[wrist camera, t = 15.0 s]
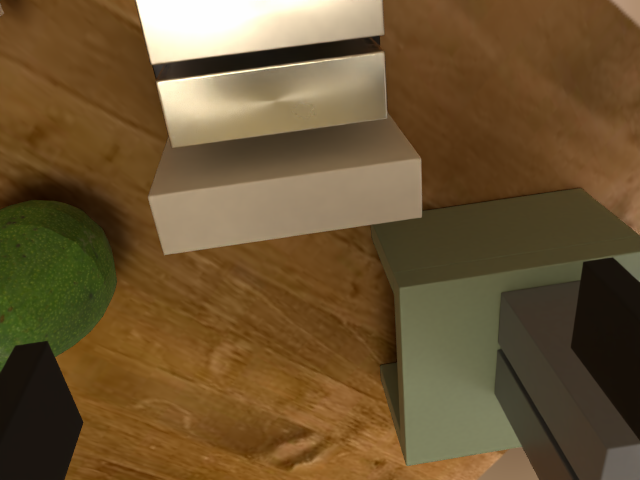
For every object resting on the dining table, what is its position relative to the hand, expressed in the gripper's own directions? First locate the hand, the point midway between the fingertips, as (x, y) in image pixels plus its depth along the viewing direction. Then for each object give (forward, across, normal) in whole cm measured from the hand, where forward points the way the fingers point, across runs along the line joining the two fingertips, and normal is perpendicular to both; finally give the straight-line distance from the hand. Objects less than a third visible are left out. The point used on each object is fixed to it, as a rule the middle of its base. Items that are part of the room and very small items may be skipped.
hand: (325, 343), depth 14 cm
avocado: (+21, -14, -6) cm, 26 cm away
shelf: (+21, +12, -15) cm, 28 cm away
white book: (+20, 0, 0) cm, 20 cm away
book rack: (+21, 0, +1) cm, 21 cm away
